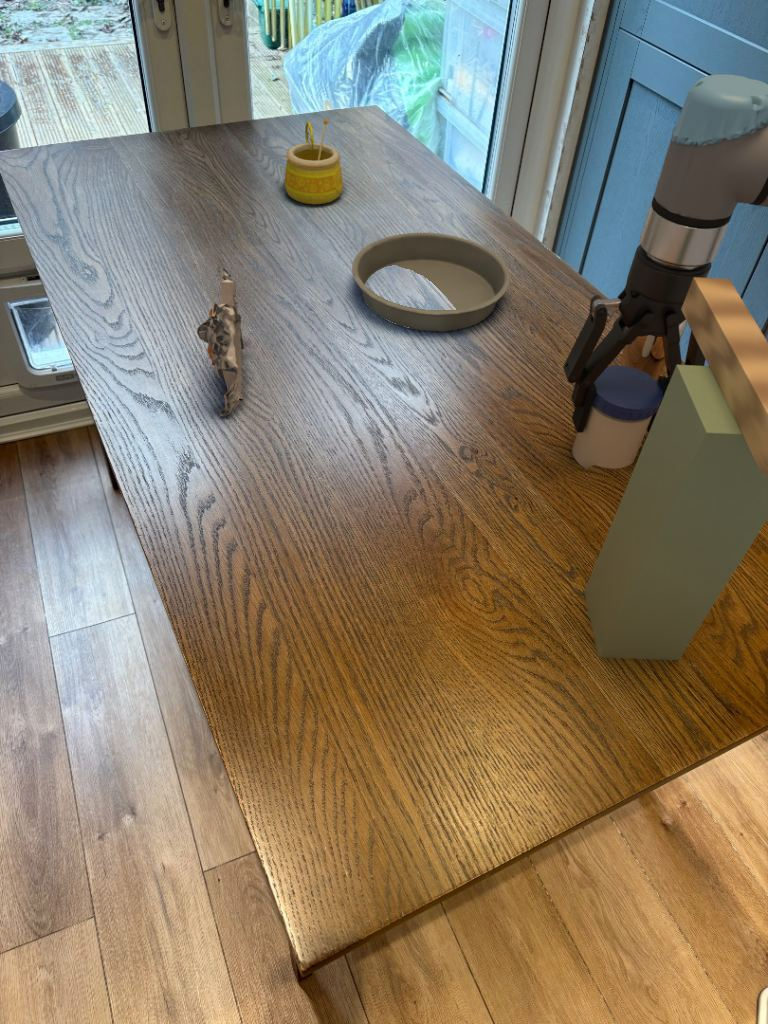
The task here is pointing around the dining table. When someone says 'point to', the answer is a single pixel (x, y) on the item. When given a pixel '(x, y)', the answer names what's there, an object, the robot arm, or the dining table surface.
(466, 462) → the dining table surface
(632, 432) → the jam jar
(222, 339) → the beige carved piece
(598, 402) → the jar lid
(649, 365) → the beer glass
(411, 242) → the cake pan
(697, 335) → the beech stick
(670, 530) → the stand
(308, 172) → the yellow pot
